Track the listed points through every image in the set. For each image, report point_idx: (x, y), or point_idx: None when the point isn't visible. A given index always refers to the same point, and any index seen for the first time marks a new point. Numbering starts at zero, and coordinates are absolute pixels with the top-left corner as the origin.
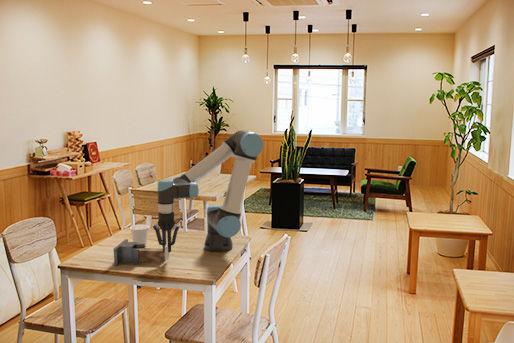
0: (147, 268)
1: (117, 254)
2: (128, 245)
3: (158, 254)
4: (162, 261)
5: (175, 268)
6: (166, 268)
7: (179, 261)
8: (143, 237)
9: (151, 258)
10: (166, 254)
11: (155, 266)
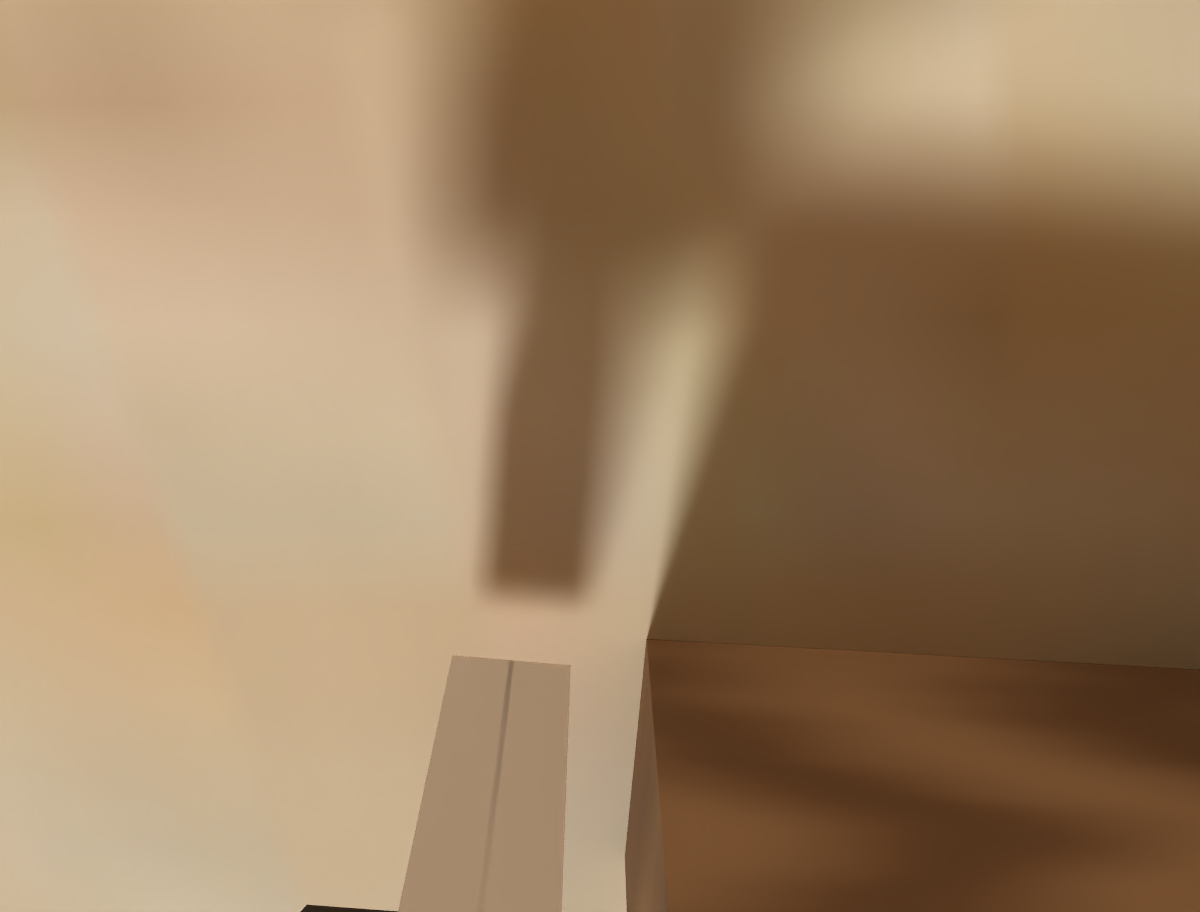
0: (1188, 55)
1: None
2: None
3: (878, 860)
4: (682, 668)
5: (35, 69)
6: (406, 64)
7: (139, 753)
8: None
9: (1115, 750)
10: (489, 799)
11: (883, 287)
